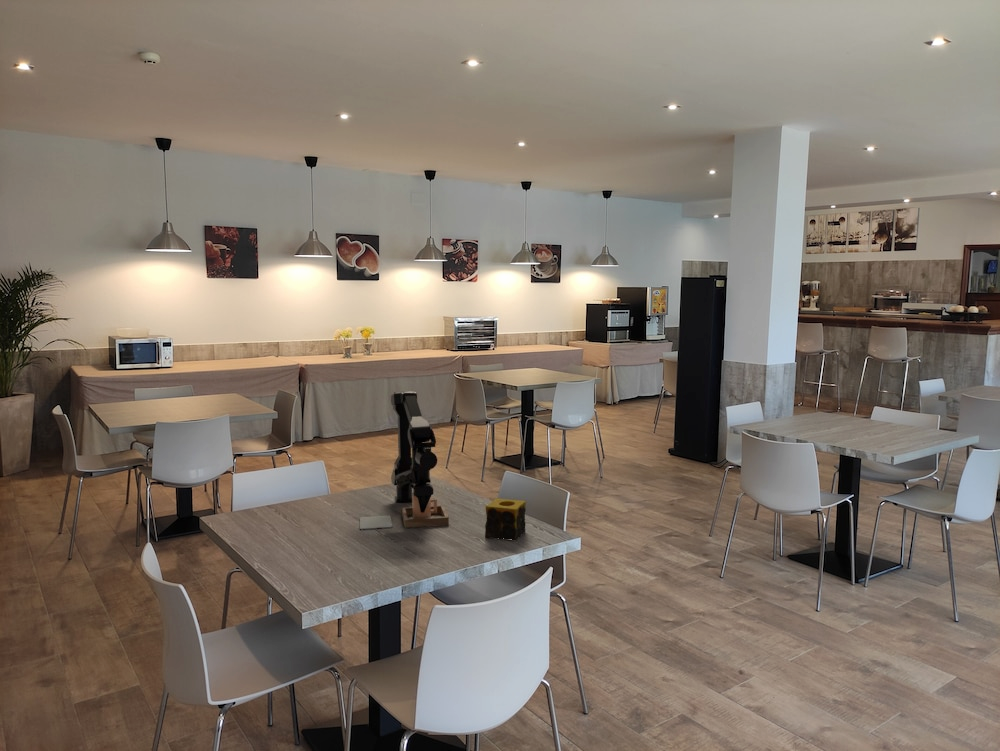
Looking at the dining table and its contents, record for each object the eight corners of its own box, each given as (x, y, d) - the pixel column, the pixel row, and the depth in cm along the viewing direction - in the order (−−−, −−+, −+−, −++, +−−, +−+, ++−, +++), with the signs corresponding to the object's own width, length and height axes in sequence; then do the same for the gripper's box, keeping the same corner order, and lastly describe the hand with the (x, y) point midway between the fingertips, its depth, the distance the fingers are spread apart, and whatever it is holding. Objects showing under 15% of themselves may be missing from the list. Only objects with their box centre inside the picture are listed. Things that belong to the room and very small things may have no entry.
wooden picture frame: (402, 514, 243) (402, 507, 243) (443, 512, 246) (443, 505, 246) (404, 527, 229) (404, 520, 229) (448, 524, 232) (448, 517, 232)
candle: (484, 538, 219) (484, 506, 218) (495, 528, 229) (495, 497, 228) (516, 541, 216) (516, 509, 215) (526, 531, 226) (526, 500, 225)
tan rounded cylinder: (411, 517, 240) (411, 491, 239) (435, 516, 241) (435, 490, 240) (413, 523, 234) (412, 496, 233) (437, 521, 235) (437, 495, 234)
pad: (359, 518, 239) (359, 517, 239) (390, 516, 241) (390, 515, 241) (360, 529, 228) (360, 528, 228) (392, 527, 230) (392, 526, 230)
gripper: (394, 458, 243) (395, 503, 245) (397, 471, 225) (398, 519, 226) (427, 456, 245) (428, 501, 247) (433, 469, 227) (434, 517, 229)
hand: (421, 509), depth 237 cm, fingers closed on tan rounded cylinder, 6 cm apart
